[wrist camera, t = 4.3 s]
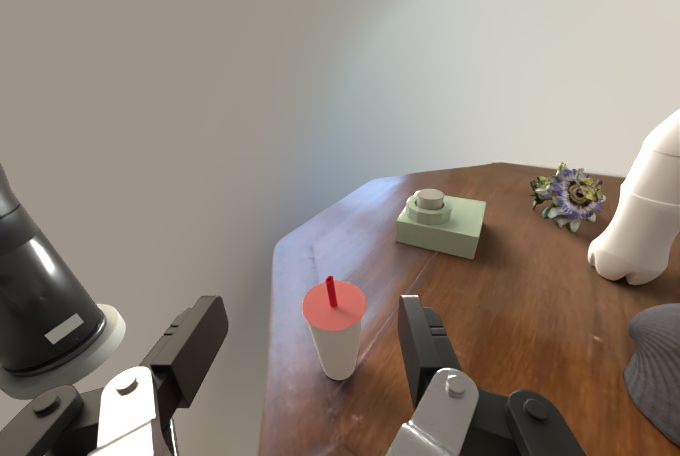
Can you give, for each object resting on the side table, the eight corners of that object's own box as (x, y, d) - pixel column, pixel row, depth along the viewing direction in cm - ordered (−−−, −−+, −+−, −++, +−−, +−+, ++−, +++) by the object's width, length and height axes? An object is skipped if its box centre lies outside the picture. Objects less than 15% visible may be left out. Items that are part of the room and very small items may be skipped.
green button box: (395, 241, 46) (397, 209, 42) (414, 209, 54) (417, 181, 51) (473, 260, 40) (482, 225, 37) (481, 221, 49) (489, 191, 46)
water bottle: (665, 278, 35) (841, 45, 22) (635, 298, 33) (813, 50, 20) (599, 249, 41) (709, 50, 28) (570, 265, 38) (674, 54, 25)
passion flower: (558, 255, 48) (561, 222, 40) (509, 218, 56) (503, 183, 48) (617, 215, 47) (634, 172, 38) (559, 183, 54) (562, 140, 46)
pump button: (413, 208, 43) (414, 196, 42) (419, 198, 46) (421, 187, 45) (439, 213, 42) (441, 201, 40) (444, 202, 44) (446, 190, 43)
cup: (314, 395, 25) (297, 307, 19) (311, 344, 30) (296, 258, 23) (371, 385, 26) (374, 296, 19) (359, 336, 30) (358, 250, 24)
